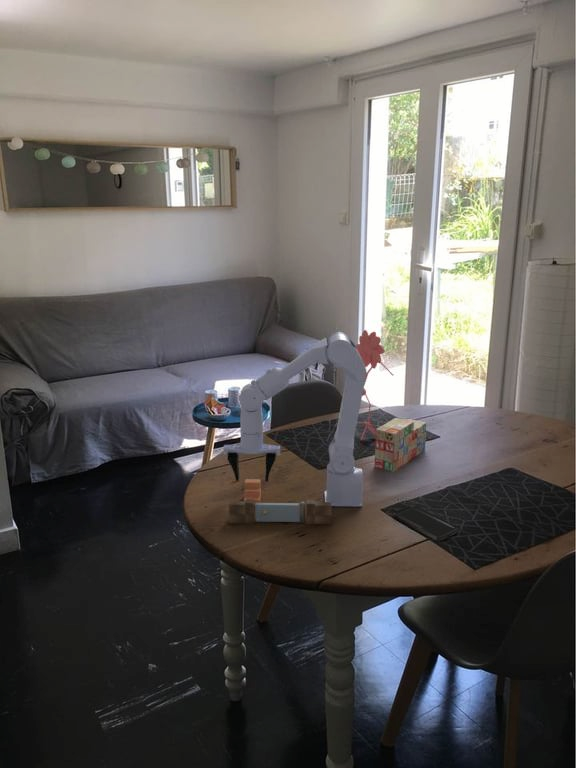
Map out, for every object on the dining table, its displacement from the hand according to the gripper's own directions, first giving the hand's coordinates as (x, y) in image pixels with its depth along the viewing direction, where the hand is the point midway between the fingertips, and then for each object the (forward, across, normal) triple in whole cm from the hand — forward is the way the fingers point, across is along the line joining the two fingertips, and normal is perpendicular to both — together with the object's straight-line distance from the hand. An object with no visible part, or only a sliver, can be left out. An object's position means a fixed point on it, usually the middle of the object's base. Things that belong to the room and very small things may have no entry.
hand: (252, 479), depth 166 cm
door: (+5, -8, +12) cm, 15 cm away
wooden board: (+6, -7, +12) cm, 15 cm away
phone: (+6, -43, +12) cm, 45 cm away
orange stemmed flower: (+6, -35, -50) cm, 61 cm away
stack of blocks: (+6, -43, -28) cm, 52 cm away
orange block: (+6, 0, +1) cm, 6 cm away
